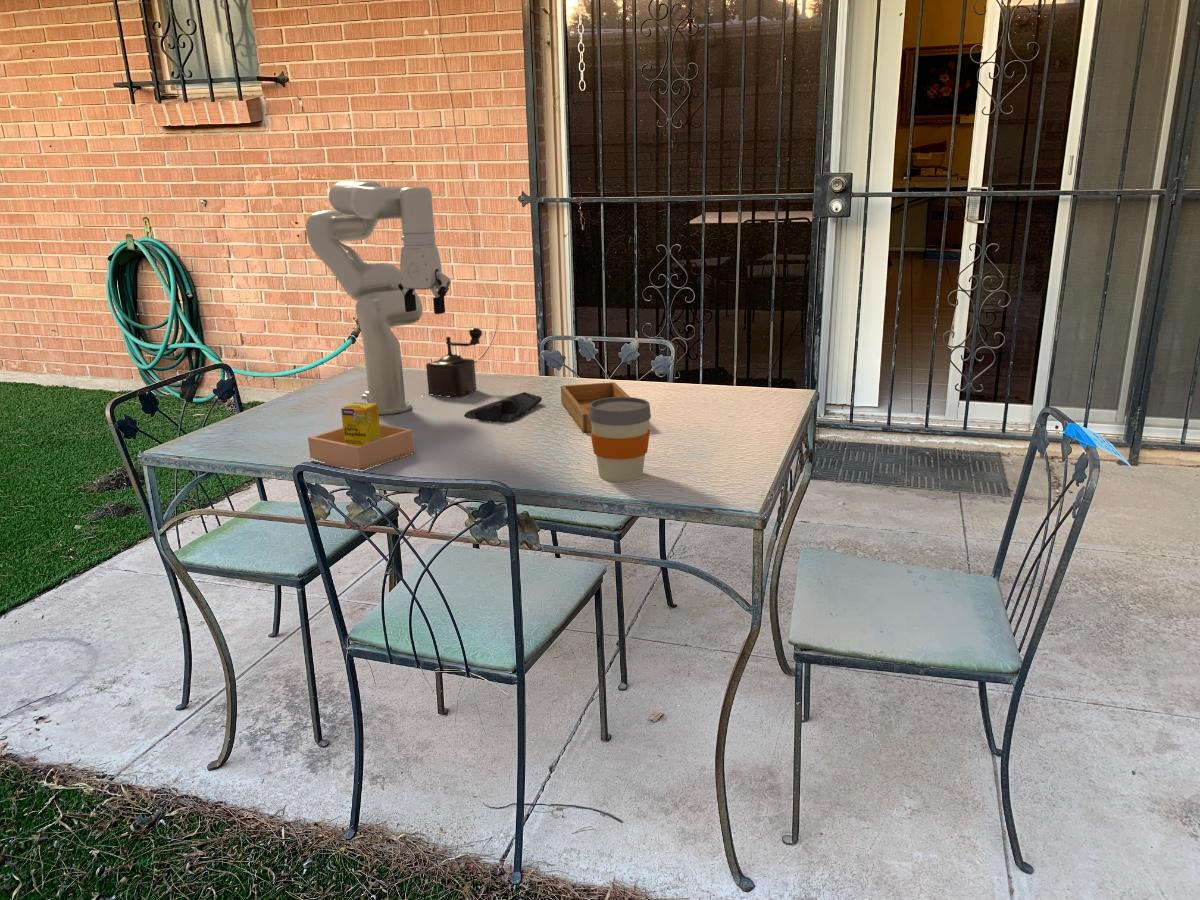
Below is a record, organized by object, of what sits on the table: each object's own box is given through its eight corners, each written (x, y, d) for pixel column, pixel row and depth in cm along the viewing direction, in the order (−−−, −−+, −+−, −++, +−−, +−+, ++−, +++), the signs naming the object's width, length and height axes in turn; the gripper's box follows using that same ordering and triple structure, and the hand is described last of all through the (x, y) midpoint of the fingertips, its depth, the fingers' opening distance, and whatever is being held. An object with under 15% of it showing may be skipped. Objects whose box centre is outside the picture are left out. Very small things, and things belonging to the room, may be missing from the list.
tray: (644, 430, 213) (644, 408, 212) (583, 435, 210) (582, 412, 209) (615, 401, 242) (614, 381, 240) (561, 405, 239) (560, 385, 237)
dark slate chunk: (551, 406, 239) (551, 389, 238) (508, 425, 221) (507, 407, 219) (505, 401, 246) (504, 384, 245) (458, 420, 227) (457, 402, 226)
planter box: (310, 461, 194) (307, 437, 192) (365, 443, 207) (363, 420, 205) (360, 472, 185) (357, 447, 184) (414, 453, 198) (412, 429, 196)
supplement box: (345, 456, 194) (340, 408, 191) (359, 448, 199) (353, 401, 196) (369, 457, 192) (364, 409, 189) (382, 449, 198) (378, 402, 195)
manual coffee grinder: (459, 398, 249) (455, 335, 243) (427, 395, 253) (422, 333, 248) (488, 386, 262) (484, 327, 257) (457, 384, 266) (453, 325, 261)
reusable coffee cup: (600, 463, 187) (598, 395, 183) (657, 467, 184) (657, 398, 179) (582, 482, 176) (580, 410, 172) (643, 486, 172) (642, 413, 168)
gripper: (382, 241, 211) (388, 312, 216) (434, 242, 201) (440, 316, 206) (404, 239, 217) (411, 308, 222) (457, 240, 207) (462, 312, 212)
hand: (425, 312), depth 214 cm, fingers open, 9 cm apart
